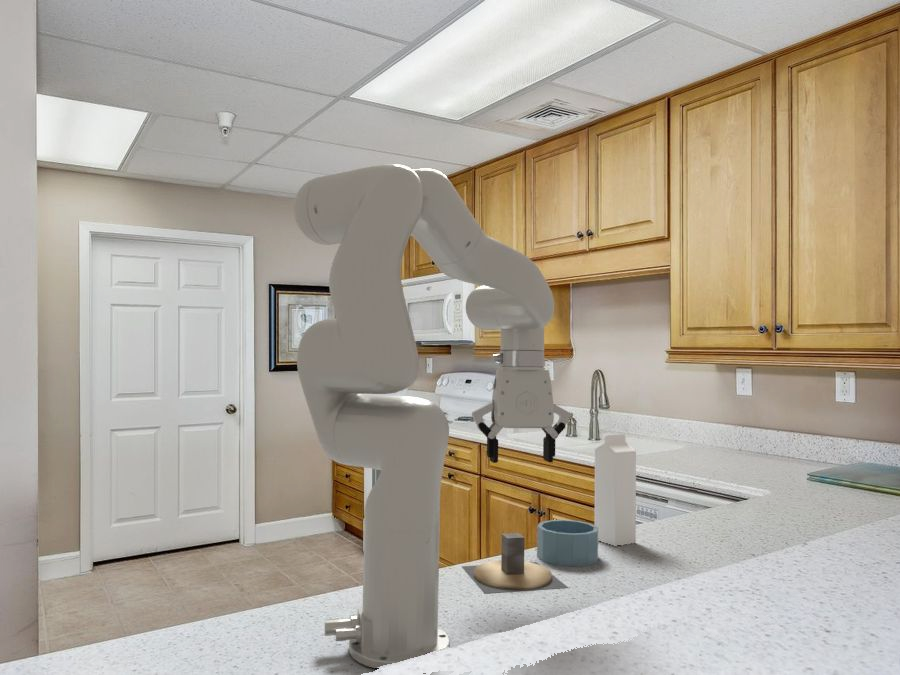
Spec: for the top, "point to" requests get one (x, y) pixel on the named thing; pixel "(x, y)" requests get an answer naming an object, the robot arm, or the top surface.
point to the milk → (615, 491)
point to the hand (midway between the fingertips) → (521, 461)
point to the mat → (489, 589)
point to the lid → (512, 568)
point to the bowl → (567, 542)
